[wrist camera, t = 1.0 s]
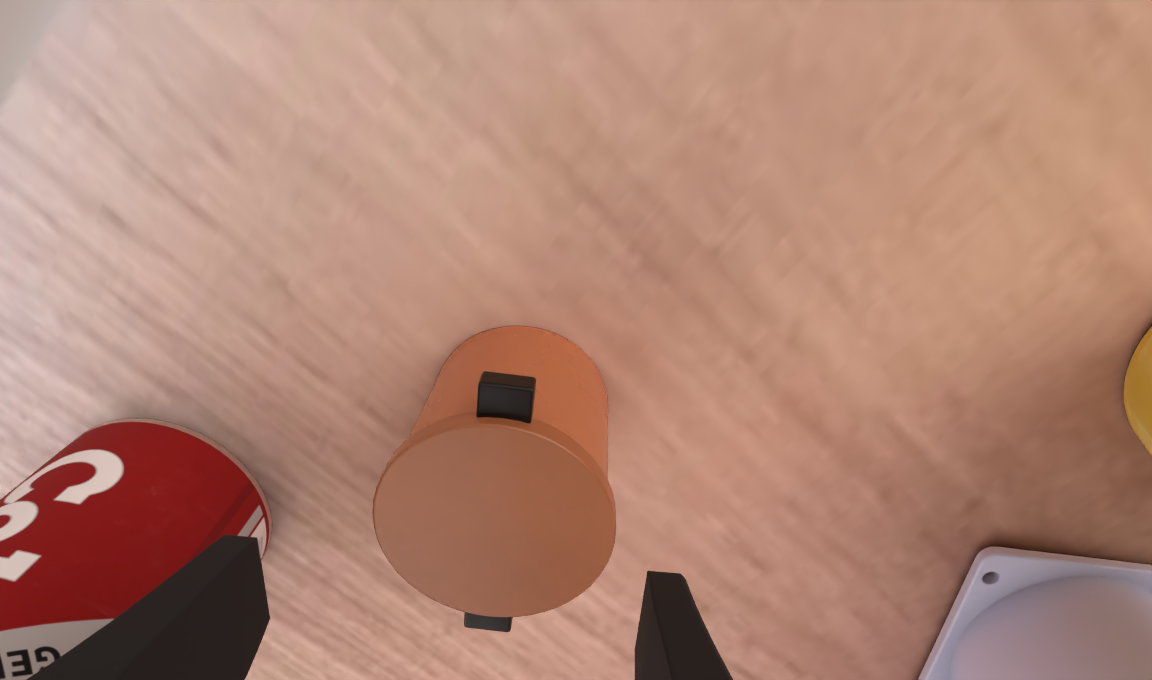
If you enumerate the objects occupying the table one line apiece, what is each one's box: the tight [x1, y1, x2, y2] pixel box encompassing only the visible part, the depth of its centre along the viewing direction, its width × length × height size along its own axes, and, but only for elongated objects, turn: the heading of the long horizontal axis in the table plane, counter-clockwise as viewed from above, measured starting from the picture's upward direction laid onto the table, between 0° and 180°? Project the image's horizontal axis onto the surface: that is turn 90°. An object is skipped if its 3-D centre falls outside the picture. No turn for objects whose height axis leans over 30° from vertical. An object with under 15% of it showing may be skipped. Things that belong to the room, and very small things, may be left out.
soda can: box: [0, 418, 272, 680], centre depth 18 cm, size 7×7×12 cm
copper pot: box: [373, 326, 616, 632], centre depth 18 cm, size 7×6×6 cm
